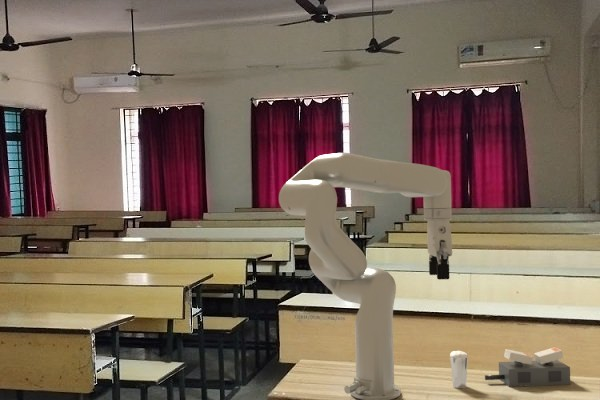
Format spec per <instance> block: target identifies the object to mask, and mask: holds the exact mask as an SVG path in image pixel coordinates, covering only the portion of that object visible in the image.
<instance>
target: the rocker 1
mask: <svg viewBox="0 0 600 400" xmlns="http://www.w3.org/2000/svg"><path fill="white" fill-rule="evenodd" d="M503 357H504V358H506V359H507V360H509V361H511V362H513V361H517V362H521V363H526V364H532V361H533V359H534V357H533V355H530V354H529V353H528V352H527V353H525V352H522V351H517V350H512V349H507V348H505V350H504V355H503Z"/></svg>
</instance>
